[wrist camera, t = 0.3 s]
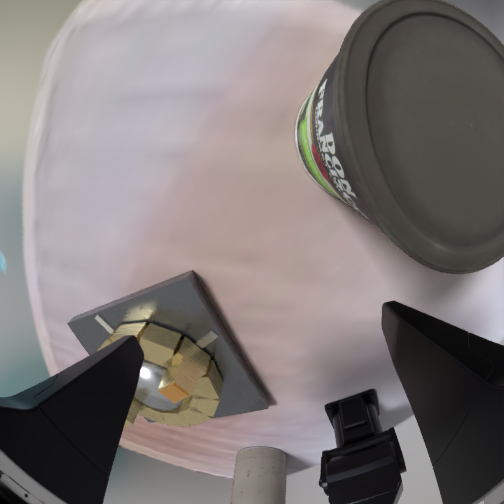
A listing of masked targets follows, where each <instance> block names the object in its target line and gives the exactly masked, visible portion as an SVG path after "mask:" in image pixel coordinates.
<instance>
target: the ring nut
mask: <svg viewBox="0 0 504 504" xmlns="http://www.w3.org/2000/svg"><path fill="white" fill-rule="evenodd" d="M126 335H134V336H135V337H136V338H137V339H138V342H139V344H140V346H141V348H142V350H143V352H144V359H145V360H148V361H150V362H153V363H155V364H158V365H161V366H164V367H166V368H167V370H166V372H165V374H164V376H163V379H162V381H161V383H160V385H159V387H158V390H157V391H158V392H159V393H161V394H162V395H163V396H165V397H166V398H168V399H169V400H170V401H172V402H173V403H175V404H176V403H178V402H179V401H181V400H182V402H181V404H180V405H179V406H178V407H177V408H175V409H171V410H161V409H156V408H153V407H150V406H148V405H146V404H144V403H142V402H141V401H139V400H138V399H136V398H135V397H134V398H133V401H132V404H131V407H130V410H129V413H128V416H127V419H126V422H125V425H124V428H125V427H128V426H130V425H132V424H133V423H134V421H135V419H136V416H137V414H138V412H139V415H140V416H143V417H145V418H148V419H150V420H153V421H156V422H158V423H161V424H164V422H165V423H166V424H167V425H173V426H191V425H193V426H195V425H197V424H200V423H202V422H205V421H207V420H209V419H212V417H213V416H214V414H215V411H216V409H217V406H218V403H219V401H220V396H221V391H222V387H223V384H222V383H223V381H222V379H221V377H220V374H219V372H218V370H217V368H216V365H215V363H214V361H213V360H210V358H211V357H210V356H209V355H208V354H206V353H205V352H204V351H203V350H201V349H200V348H199V347H198V346H197V345H195V344H194V343H193V342H192V341H191V340H189V339H188V338H187V337H186V336H185V337H184V338H183V339H182V340H181V335H182V334H180V333H177V332H174V331H171V330H168V329H166V328H163V327H160V326H157V325H155V324H152V323H150V324H149V325H147V323H146V322H144V323H134V324H123V325H120V326H118V327H117V328H116V329H115V330H114V331H113V332H112V333H111V334H110V336H109V337H108V338H107V339H106V340H105V341H104V343H103V344H102V345H101V346H100V348H99V349H98V350H97V351H99V350H100V349H102V348H104V347H106V346H108V345H109V344H111V343H113V342H115V341H116V340H118V339H120V338H122V337H123V336H126Z"/></svg>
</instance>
